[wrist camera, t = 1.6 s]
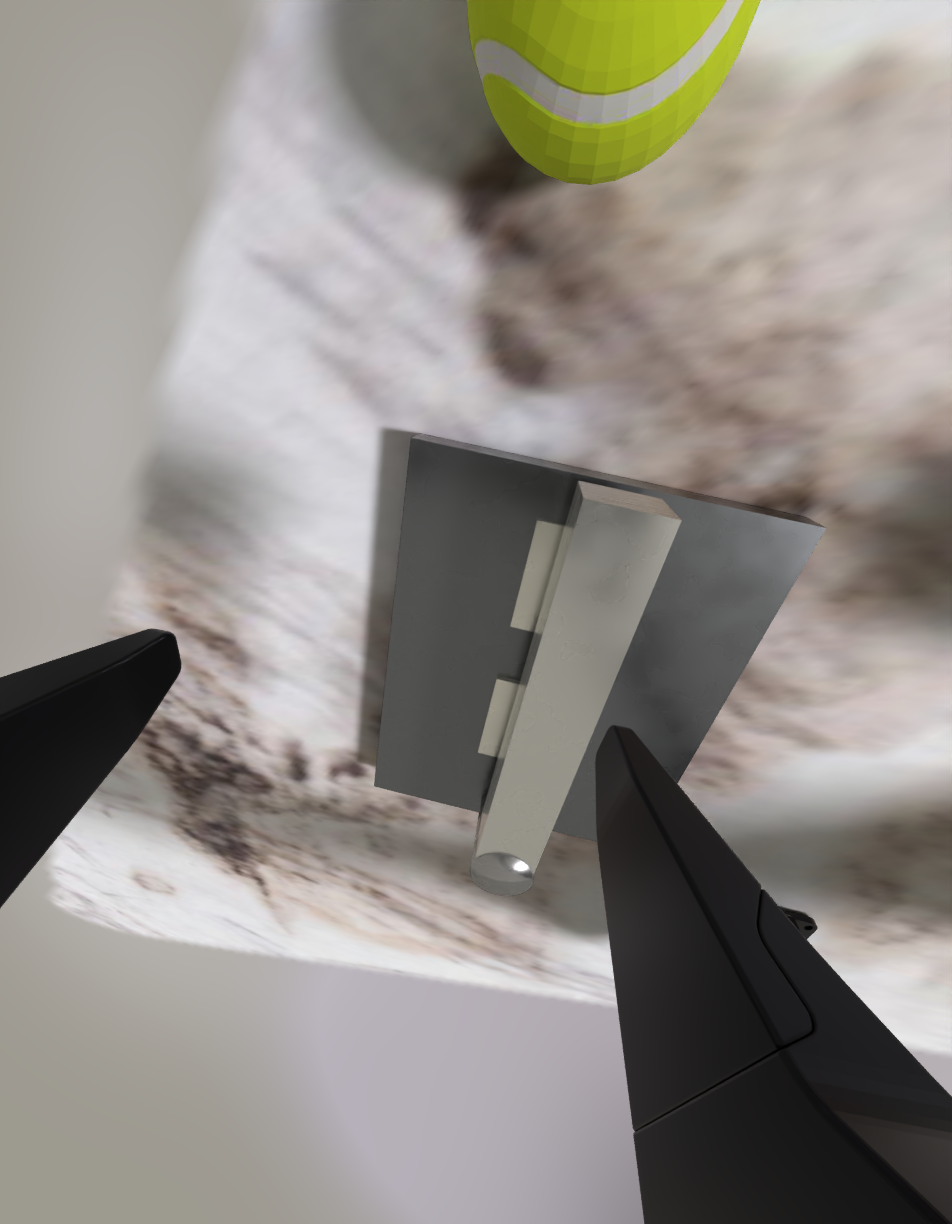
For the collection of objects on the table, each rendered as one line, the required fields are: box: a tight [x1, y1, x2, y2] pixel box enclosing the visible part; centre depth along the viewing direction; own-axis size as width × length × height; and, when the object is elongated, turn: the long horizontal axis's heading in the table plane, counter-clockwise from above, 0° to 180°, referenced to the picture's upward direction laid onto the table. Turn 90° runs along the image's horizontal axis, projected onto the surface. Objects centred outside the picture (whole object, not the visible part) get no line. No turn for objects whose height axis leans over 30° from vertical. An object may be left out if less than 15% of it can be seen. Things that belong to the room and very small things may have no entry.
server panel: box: [374, 434, 826, 842], centre depth 22 cm, size 21×16×2 cm
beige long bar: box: [470, 481, 682, 896], centre depth 20 cm, size 21×3×3 cm, turn 170°
